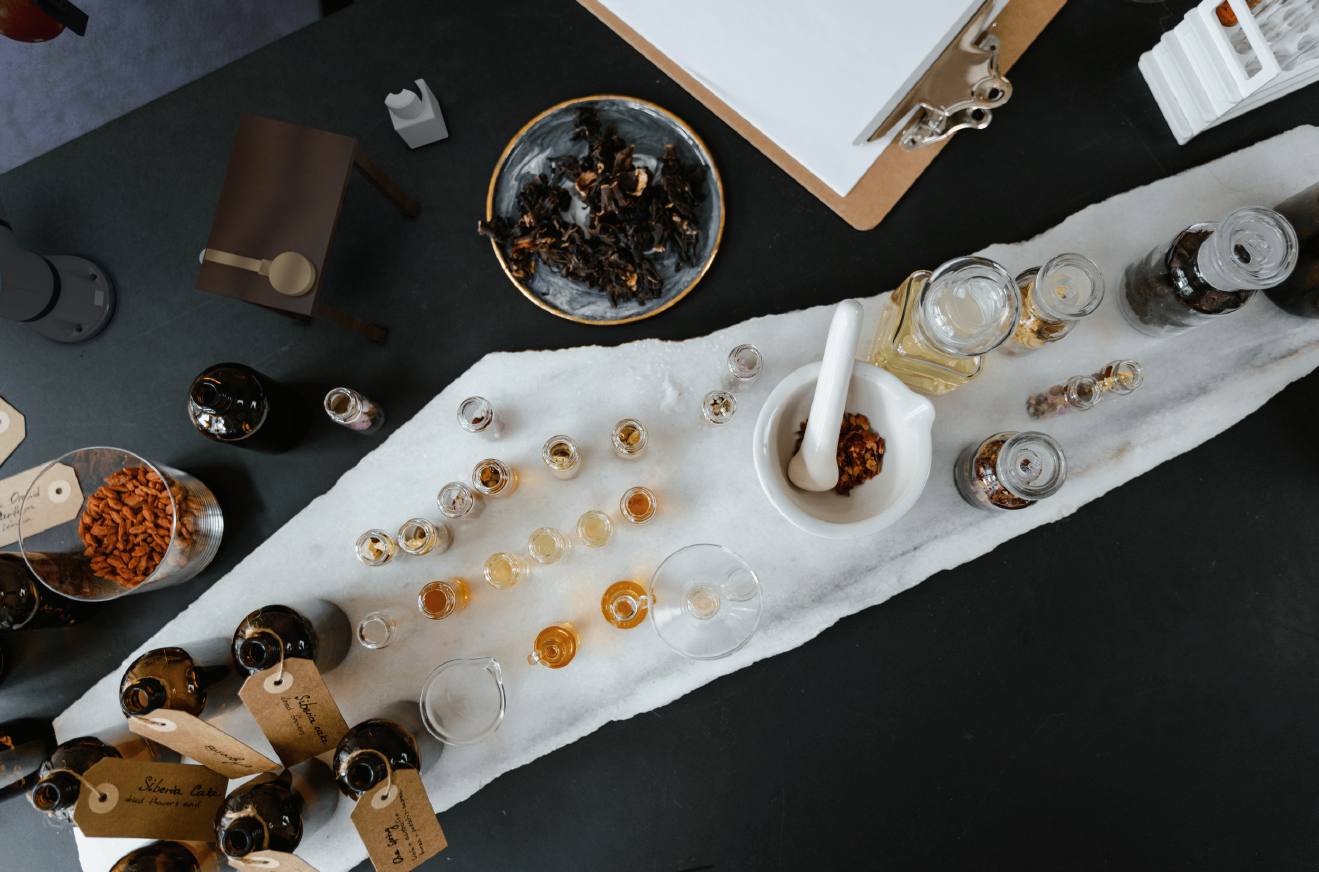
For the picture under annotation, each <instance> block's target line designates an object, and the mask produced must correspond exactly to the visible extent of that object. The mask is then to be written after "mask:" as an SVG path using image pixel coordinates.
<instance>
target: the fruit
mask: <svg viewBox="0 0 1319 872" xmlns="http://www.w3.org/2000/svg"><path fill="white" fill-rule="evenodd" d="M29 2H30V1H29V0H0V35H1V36H3V37H5V38H7V39H9V40H13V41H16V42H20V43H25V44H26V43H27V44H39V43H40V44H41V43H46V42H49V41H52V40H54V39H56V38H57V37H59V36H60V35H62V34H63V32H64V31H65V30H66V28H67V27H66V26H64V25H63V24H61V23H60V22H59V21H57V20H56V19H54V18H53V17H52V16H50V15H49V14H47V13H46V12H44V11H43V10H42V9H40V8H39V7H37V6H34V5H32V4H30V3H29Z"/></svg>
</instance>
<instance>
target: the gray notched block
mask: <svg viewBox="0 0 1319 872" xmlns="http://www.w3.org/2000/svg"><path fill="white" fill-rule="evenodd" d="M379 96H380V98H381V100H382V102H383V103H384V104H385V106H386V107H387V109H388V112H389V115H390V118H391V122H392V125H393V128H394V130H395V132H396V133H397V134H398V135H399V136H400V138H401V139H402V140H403V141H404V142H405V144H407V146H408V147H409V148H410V149H412V150H413V149H416V148H419V147H422V146H425V145H428V144H431V143H435V142H437V141H441V140H443V139H446V138H448V137H449V133H448V129H447V126H446V123H445V119H444V117H443V114H442V110H441V107H440V103H439V100H438V99H437V98H436V96H435V94H434V93H433V92H432V90H431V88H430V87H429V85H428V84H427V83H426V81H425V79H423V78H419V79H416V80H415V79H414V78H413V77H412V75H410V74H408V73H407V72H404V71H393V72H390V73H389V74H387V75H386V76H384V78H383V79H382V80H381V82H380V85H379Z"/></svg>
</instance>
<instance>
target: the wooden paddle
mask: <svg viewBox="0 0 1319 872" xmlns="http://www.w3.org/2000/svg"><path fill="white" fill-rule="evenodd" d="M205 260H208V261H210V262H215V263H219V264H223V265H227V266H232V267H236V268H240V269H244V270H249V271H253V272H257V273H258V274H259V275H262V276H265V277H269V279H270V282H271V284H272V286H273V287H274V288H275V289H276V290H277V291H279V292H280V293H283V294H285V295H287V296H294V297H295V296H300V295H303V294H305V293H306V292H308V291H309V290H310V289H311V287H312V286H313V284H314V281H315V269H314V266H313V264H312V263H311V261H310V260H309V259H308V258H306V257H304V256H303V255H301V254H299V253H296V252H286V253H283V254H280V255H279V256H277V257H276V258H275V259H274V260H273V261H269V260H265V259H262V261H260V260H256V259H251V258H247V257H243V256H238V255H234V254H230V253H226V252H221V251H217V250H213V249H209V248H207V251H206V255H205Z"/></svg>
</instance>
